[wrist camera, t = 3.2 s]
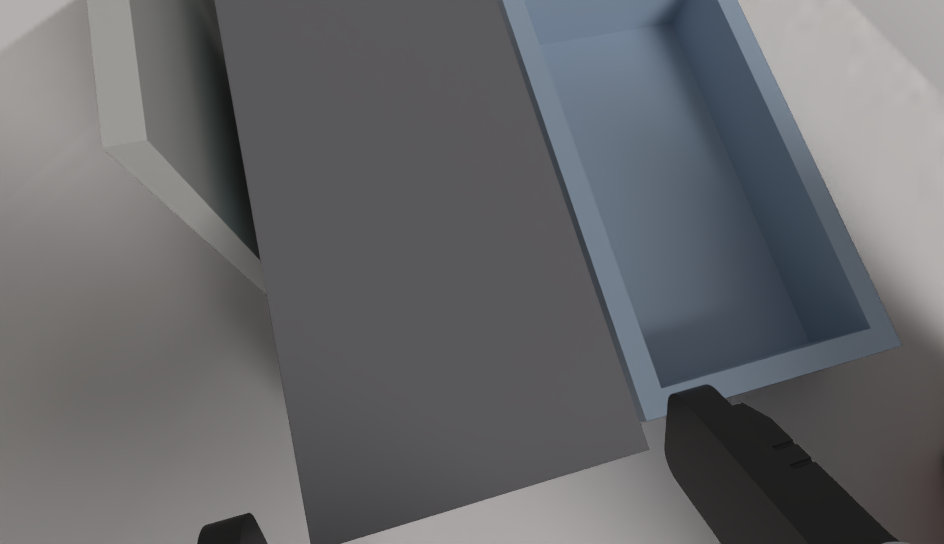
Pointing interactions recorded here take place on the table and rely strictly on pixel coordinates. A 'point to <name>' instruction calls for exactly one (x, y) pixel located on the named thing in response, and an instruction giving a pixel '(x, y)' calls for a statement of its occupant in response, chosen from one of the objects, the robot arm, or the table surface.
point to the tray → (692, 197)
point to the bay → (175, 116)
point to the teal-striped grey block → (416, 261)
